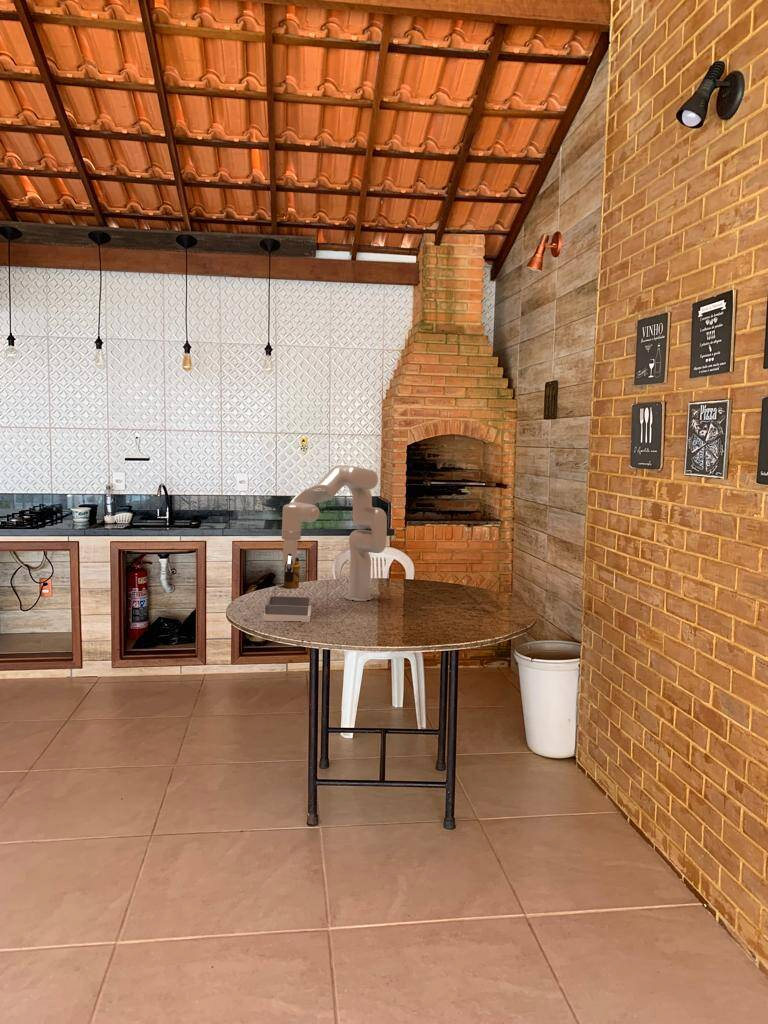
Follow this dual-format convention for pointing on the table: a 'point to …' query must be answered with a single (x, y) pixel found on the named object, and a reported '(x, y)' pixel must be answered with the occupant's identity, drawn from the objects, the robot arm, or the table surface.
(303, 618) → the dock
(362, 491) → the robot arm
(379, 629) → the table surface
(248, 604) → the table surface
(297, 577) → the condiment
